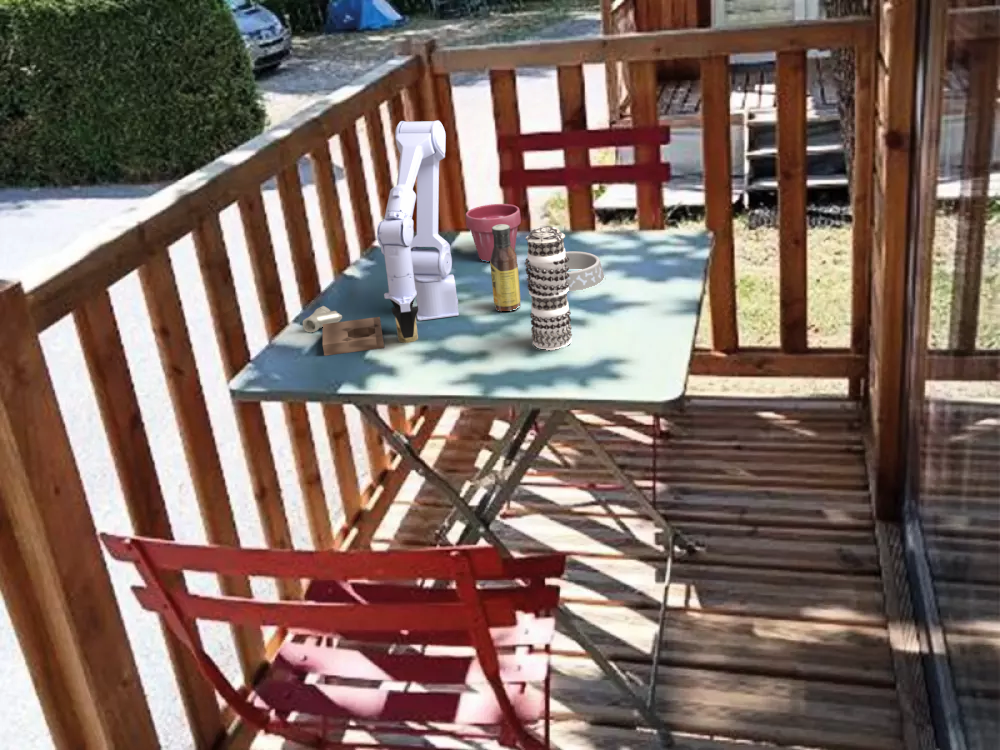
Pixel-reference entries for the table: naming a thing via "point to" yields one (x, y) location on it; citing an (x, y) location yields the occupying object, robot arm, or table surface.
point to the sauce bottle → (504, 270)
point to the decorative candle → (548, 288)
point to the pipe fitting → (320, 319)
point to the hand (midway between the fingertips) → (407, 331)
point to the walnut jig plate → (352, 336)
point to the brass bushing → (406, 340)
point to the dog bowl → (583, 270)
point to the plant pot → (491, 225)
